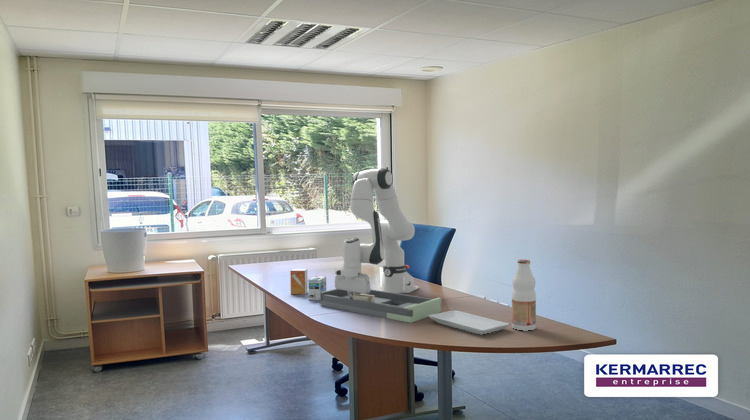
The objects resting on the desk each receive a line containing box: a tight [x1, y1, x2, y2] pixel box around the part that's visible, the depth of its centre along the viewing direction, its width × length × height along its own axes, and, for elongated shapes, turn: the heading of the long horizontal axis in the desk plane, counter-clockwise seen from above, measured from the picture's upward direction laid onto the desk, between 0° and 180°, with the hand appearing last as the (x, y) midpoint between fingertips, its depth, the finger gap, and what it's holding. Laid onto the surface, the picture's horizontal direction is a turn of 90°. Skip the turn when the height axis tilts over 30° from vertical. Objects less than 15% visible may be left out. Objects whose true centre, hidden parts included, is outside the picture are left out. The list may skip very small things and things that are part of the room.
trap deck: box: [320, 288, 442, 323], centre depth 265 cm, size 24×54×6 cm, turn 51°
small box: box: [290, 268, 309, 296], centre depth 302 cm, size 8×6×13 cm
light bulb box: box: [308, 275, 327, 302], centre depth 289 cm, size 11×7×11 cm, turn 168°
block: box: [354, 294, 375, 303], centre depth 264 cm, size 6×8×4 cm
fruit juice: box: [511, 259, 537, 332], centre depth 227 cm, size 9×9×28 cm
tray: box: [427, 309, 511, 336], centre depth 232 cm, size 17×31×4 cm, turn 38°
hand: (352, 300), depth 269 cm, fingers closed
